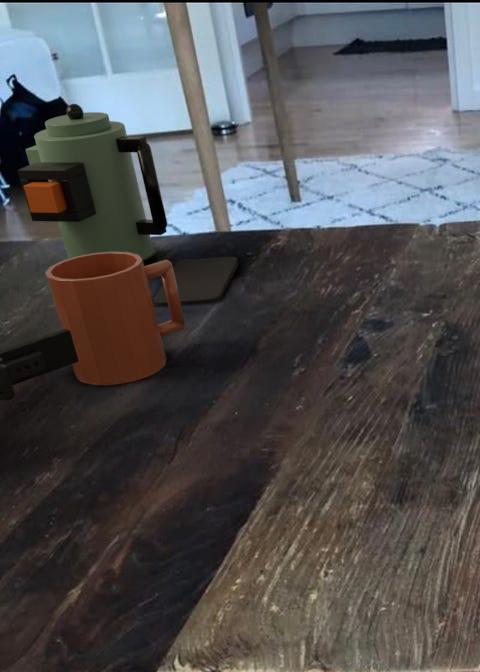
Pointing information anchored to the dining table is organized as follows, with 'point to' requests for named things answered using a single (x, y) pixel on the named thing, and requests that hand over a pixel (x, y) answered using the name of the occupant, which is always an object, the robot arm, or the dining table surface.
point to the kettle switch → (45, 197)
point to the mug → (114, 314)
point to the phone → (200, 280)
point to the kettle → (97, 184)
